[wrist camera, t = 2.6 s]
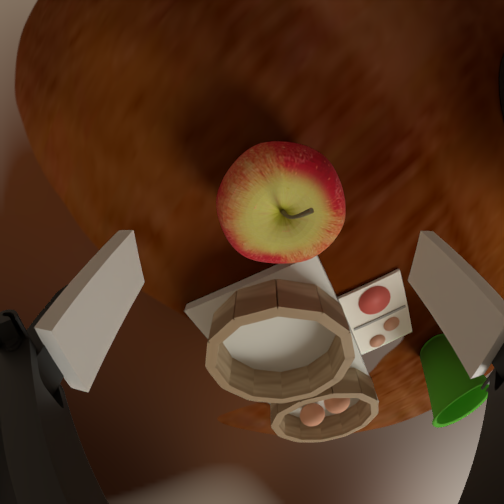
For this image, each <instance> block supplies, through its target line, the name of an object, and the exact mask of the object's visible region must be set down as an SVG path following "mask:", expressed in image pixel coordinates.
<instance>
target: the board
mask: <svg viewBox="0 0 504 504" xmlns="http://www.w3.org/2000/svg"><path fill="white" fill-rule="evenodd" d="M273 279H275V280H276V279H282V280H289V281H295V282H302V283H309V284H315V286H316V285H317V286H318V287H320V288H321V289H322V290H323V291H325V292H326V293H327V294H329V295H330V296H331V297H332V298H334V299H335V300H336V301H338V299H337V297H336V295H335V292H334V290H333V288H332V286H331V283H330V281H329V279H328V277H327V275H326V272H325V270H324V268H323V266H322V264H321V262H320V260H319V257H318V255H317V256H315V257H313V258H311V259H309V260H306V261H303V262H298V263H286V264H277V265H275V266H272V267H270V268H268V269H266V270H264V271H261V272H259V273H257V274H254V275H252V276H250V277H248V278H245V279H243V280H241V281H239V282H236V283H234V284H232V285H229V286H227V287H225V288H223V289H220V290H218V291H216V292H213V293H211V294H209V295H206V296H204V297H202V298H199V299H197V300H195V301H192V302H190V303H188V304H186V307H185V310H184V312H185V313H186V314H187V315H188V316H189V318H190V319H191V320H192V321H193V322H194V324H195V325H196V326H197V327H198V328H199V329H200V330H201V332H202V333H203V334H204V335H205V336H206V337H207V339H208V338H209V333H210V328H211V324H212V319H213V314H214V312H215V311H216V310H217V309H218V308H219V307H220V306H221V305H222V304H223V303H224V302H225V301H226V300H227V299H228V298H229V297H230V296H231V295H232V294H233V293H234V292H235V291H238V289H242V288H245V287H249V286H252V285H256V284H259V283H262V282H266V281H269V280H273ZM338 302H339V301H338ZM347 323H348V322H347ZM348 326H349V324H348ZM349 329H350V327H349ZM350 332H351V329H350ZM335 335H336V334H334V333H333V332H332V331H330V330H329V329H327V328H326V327H324V326H323V325H321V324H320V323H318V322H317V321H311V320H302V319H294V318H286V317H275V318H271V319H267V320H263V321H259V322H256V323H252V324H248V325H244V326H240V327H239V328H238V329H237V330H236V331H235V332H234V333H232V334H231V335H230V336H229V337H228V338H227V339H226V340H224V341H223V344H224V345H225V347H226V348H227V350H228V352H229V353H230V355H231V356H232V358H234V359H236V360H238V361H240V362H242V363H244V364H245V365H247V366H249V367H251V368H253V369H258V370H266V371H276V372H283V371H287V370H292V369H296V368H300V367H304V366H307V365H309V364H310V363H312V362H313V361H315V360H316V359H317V358H319V357H320V356H322V355H323V354H325V353H326V352H327V351H328V350H329V348H330V345H331V343H332V341H333V339H334V337H335ZM351 337H352V342H353V347H354V353H355V359H354V360H353V362H352V364H351V365H350V367H349V368H356V369H358V370H360V371H361V372H363V373H365V374H366V375H368V376H369V374H368V371H367V369H366V366H365V364H364V361H363V358H362V356H361V353H360V351H359V349H358V346H357V344H356V341H355V339H354V336H353V334H352V332H351ZM376 396H377V395H376ZM377 399H378V398H377ZM358 401H359V399H358V398H350V404H349V406H348V408H350V407H351V406H353V405H355V404H356V403H357V402H358ZM378 402H379V401H378ZM314 403H316V404H319V405H321V406H322V407H323V409H324V412H325V417H326V416H330V415H334V414H335V413H331V412H329V411H328V410H327V409H326V408H325V406H324V400H322V401H318V402H314ZM269 404H270V405H271V403H269ZM305 405H307V404H305ZM305 405H303V406H301V407H299V408H298V409H296V410H294V411H292V412H290V413H288V414H291V415H293V416H296V417H299V418H300V411H301V409H302V408H303V407H304V406H305ZM348 408H347V409H348Z"/></svg>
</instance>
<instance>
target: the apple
mask: <svg viewBox="0 0 504 504" xmlns="http://www.w3.org/2000/svg"><path fill="white" fill-rule="evenodd" d="M216 204H217V214H218V218H219V222H220V225H221V227H222V230H223V232H224V234H225V236H226V238H227V240H228V241H229V243H230V244H231V245H232V247H233V248H234V249H235V250H236V251H237V252H239V253H240V254H241V255H243V256H244V257H246V258H249V259H252V260H255V261H259V262H265V263H278V264H286V263H298V262H303V261H306V260H309V259H311V258H313V257H315V256H317V255H318V254H320V253H321V252H323V251H324V250H325V249H326V248H327V247H328V246H329V245H330V244H331V243H332V242H333V241H334V240H335V239H336V237H337V236H338V234H339V232H340V231H341V229H342V227H343V224H344V221H345V198H344V192H343V189H342V185H341V182H340V180H339V177H338V175H337V173H336V171H335V169H334V167H333V166H332V164H331V163H330V162H329V160H328V159H327V158H326V157H325V156H323V155H322V154H321V153H319V152H318V151H316V150H314V149H312V148H310V147H308V146H304V145H301V144H297V143H292V142H284V141H270V142H264V143H260V144H257V145H255V146H253V147H251V148H249V149H248V150H247V151H245V152H244V153H243V154H242V155H241V156H239V158H238V159H237V160H236V161H235V162H234V163H233V164H232V165H231V167H230V168H229V169H228V171H227V173H226V174H225V176H224V178H223V180H222V182H221V184H220V187H219V190H218V193H217V200H216Z"/></svg>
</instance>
